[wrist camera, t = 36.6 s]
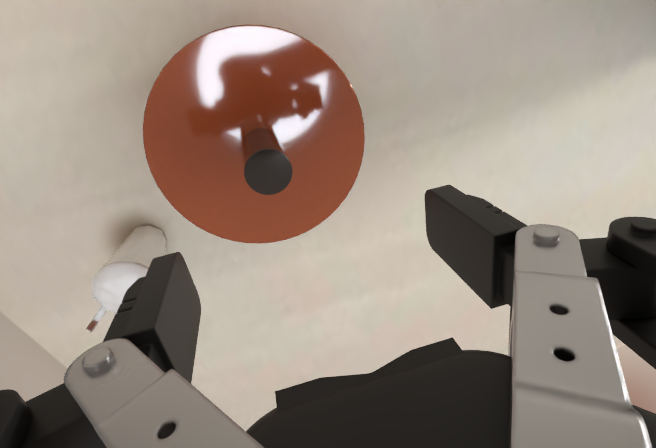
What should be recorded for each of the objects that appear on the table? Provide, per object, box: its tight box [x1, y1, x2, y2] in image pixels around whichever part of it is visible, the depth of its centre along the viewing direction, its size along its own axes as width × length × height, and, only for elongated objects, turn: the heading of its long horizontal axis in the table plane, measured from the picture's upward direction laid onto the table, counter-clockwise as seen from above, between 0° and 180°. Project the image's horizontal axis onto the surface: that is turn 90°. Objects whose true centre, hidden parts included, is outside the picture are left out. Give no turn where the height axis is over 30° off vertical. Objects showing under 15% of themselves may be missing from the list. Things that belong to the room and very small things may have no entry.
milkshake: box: [86, 225, 166, 332], centre depth 31 cm, size 4×5×10 cm
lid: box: [143, 25, 365, 243], centre depth 21 cm, size 14×14×7 cm
